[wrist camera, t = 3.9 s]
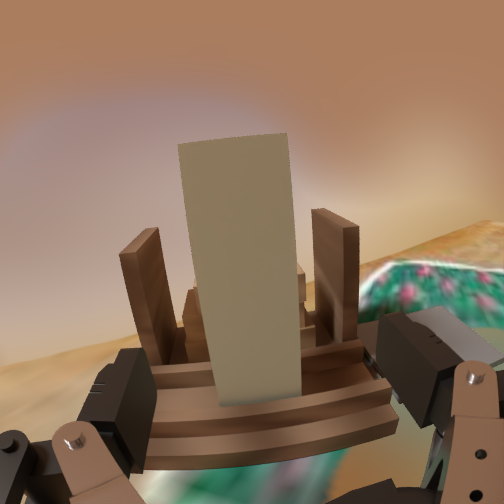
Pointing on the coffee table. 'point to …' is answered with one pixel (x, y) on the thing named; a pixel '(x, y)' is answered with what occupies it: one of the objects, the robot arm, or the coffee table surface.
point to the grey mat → (445, 328)
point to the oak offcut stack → (196, 331)
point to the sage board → (245, 264)
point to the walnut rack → (266, 413)
